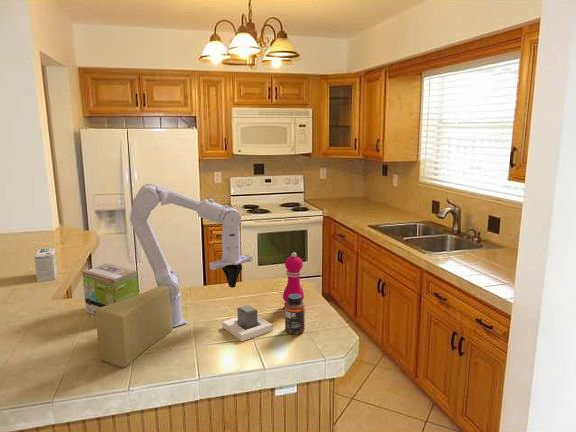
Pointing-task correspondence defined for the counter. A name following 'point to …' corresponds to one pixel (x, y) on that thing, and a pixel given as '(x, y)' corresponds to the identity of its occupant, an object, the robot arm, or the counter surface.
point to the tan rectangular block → (133, 325)
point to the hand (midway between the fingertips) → (232, 286)
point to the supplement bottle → (294, 314)
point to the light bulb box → (45, 264)
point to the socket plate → (249, 333)
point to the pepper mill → (293, 277)
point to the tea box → (108, 286)
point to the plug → (247, 317)
